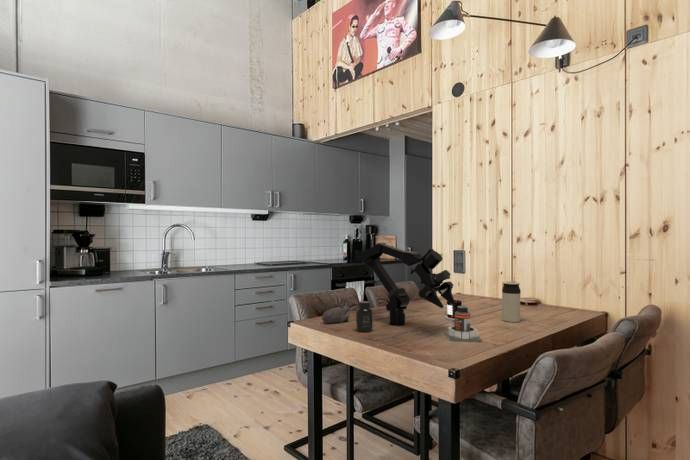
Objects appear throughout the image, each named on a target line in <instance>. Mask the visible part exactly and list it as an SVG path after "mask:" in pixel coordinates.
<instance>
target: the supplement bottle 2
mask: <svg viewBox="0 0 690 460" xmlns="http://www.w3.org/2000/svg"><path fill="white" fill-rule="evenodd" d="M468 309H469V307H468V306H465V305H458V306H457V308H456V311H455V312H454V326H455V327H454V328H455V330H457V331H470V326H471V313H470V312H469V310H468Z"/></svg>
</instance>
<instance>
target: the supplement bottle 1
mask: <svg viewBox="0 0 690 460" xmlns="http://www.w3.org/2000/svg"><path fill="white" fill-rule="evenodd" d="M355 312H356V313H355V314H356V316H355V317H356V323H355V324H356V326H355V327H356V328H355V329H356V331H357V332H359V333H370V332H372V331H373V325H374V324H373V323H374V322H373V321H374V319H373V318H374V317H373V313H374V312H373V309H372V308H371V301H368V300H367V301H365V300H361V301H359V302H358V308H357V309H356V311H355Z"/></svg>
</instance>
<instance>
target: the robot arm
mask: <svg viewBox="0 0 690 460" xmlns="http://www.w3.org/2000/svg"><path fill="white" fill-rule="evenodd" d="M383 255H388V256H390V257H393V258H395V259H398V260H400V261H401V263H402V264H404V265H406V266H408V267H411V268H410V275H411V276H412V275H416V276H417V277H418V279H419V280H420V284H421V285H422V286H423V285H424V286H423V287H422V288H421V289H420V290H419V291H418V296H419V298H420V299H423V300H424V301H427V302H429V303H431V304H433V305H435V306H436V307H438V308H440V309H443V308H444V304H443V303H442V301H441V299H440V298H439V297H438V295H437V293H438V294H439V295H440V297H442V298H443V299H444V300H445V301H447V302H448V303H449V304H451V305H452V306H455V305H456V301H455V299H454V296H453V293H452V290H453V288H454V284H453V282H452V281H449V280H450V279H451V273H450V271H449V270H447V269H444V270H442V271H441V272H439V273H436V272H432V271H431V270H434V269H435V268H436V267H437V266H439V264H440V263H441V262H442V261H443V256H442V255H441V253H439V252H437V251H436V250H434V249H433V248H429V249H428V250H427V252H426V253H425V254H424V255H422V254H421V253H420V252H417V251H408V250H403V249H399V248H397V247H394V246H392V245H388V244H386V243H385V242H384V243H383V242H382V243H381V242H380V243H377V244H375V245H374V246H372V247H370V248H368V249H366V250H363V251H362V252H361V255H360V260H361V262H362V263H364V265H366V267H368V268H370V269H371V270H372V271H373V273H374V274H375V276H376V277H377V279H378V280H379V282H380V283H381V284H382V286H383V287H384V289H385V290H386V292H387V293H388V295H387V296H388V301H389V302H388V303H387V304H386V305H385V309H386V311H389V320H388V325H390V326H392V325H393V326H404V325H405V323H406V313H405V312H404V310H407V308H408V305H409V304H410V300H411V299H410V297H409V293H407V291H406V289H405V288H404V287H401V288H400V287H398V286H397V284H396V283H395V282H394V281H393V279H392V278H391V276H390V274H389V273H388V272H387V270H386V269H385V268H384V266H383V265H382V263H381V257H382V256H383ZM412 266H414V268H413V267H412ZM446 280H448V281H446Z"/></svg>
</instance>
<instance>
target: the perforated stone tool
mask: <svg viewBox="0 0 690 460" xmlns="http://www.w3.org/2000/svg"><path fill="white" fill-rule="evenodd" d="M350 309H351V308H350V306H349V305H343V306H337V307H333V308H330V309H327V310H325V312H323V313H322V315H321V320H322V322H324V323H325V324H337V323H343V322H347V321H349V319H350V318H349V317H350Z"/></svg>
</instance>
